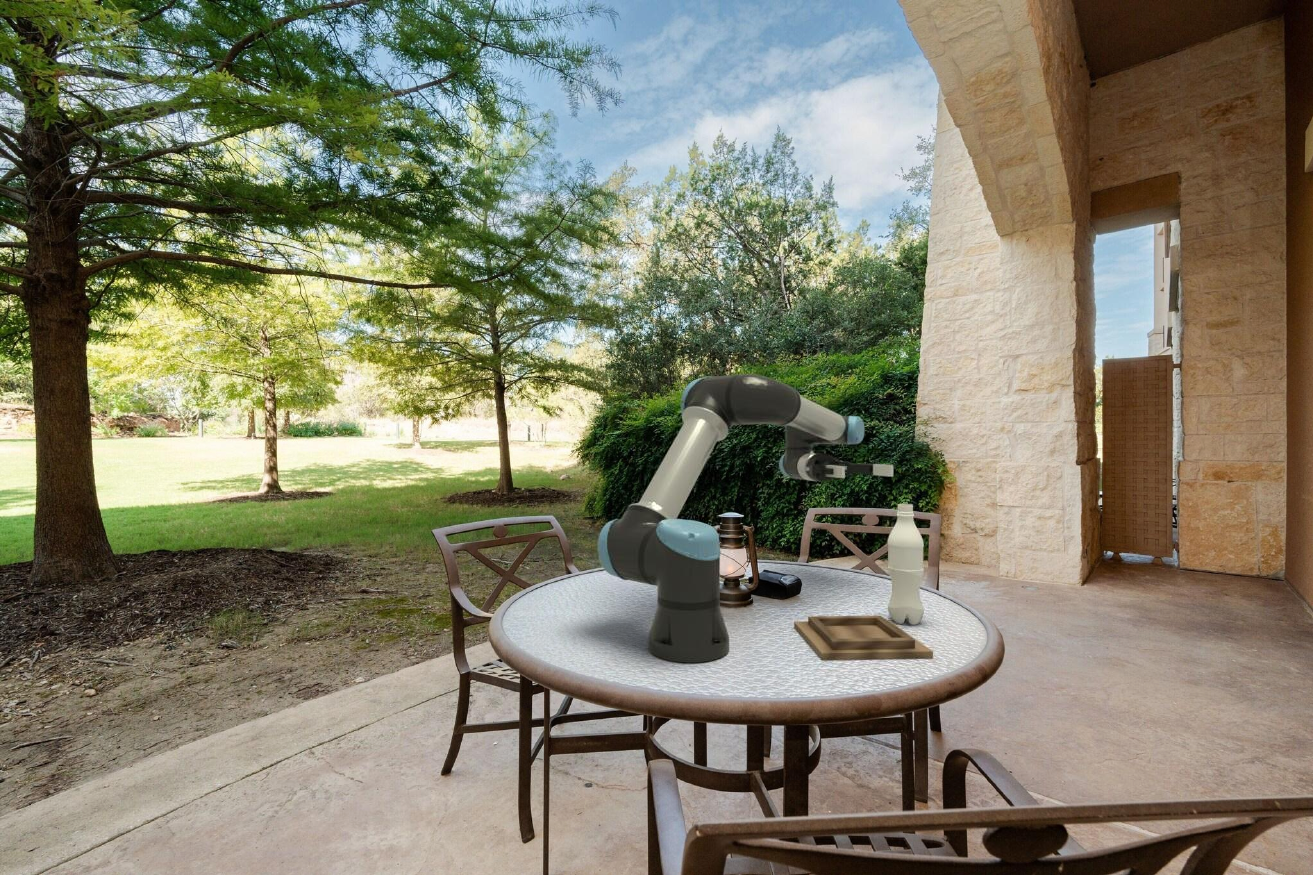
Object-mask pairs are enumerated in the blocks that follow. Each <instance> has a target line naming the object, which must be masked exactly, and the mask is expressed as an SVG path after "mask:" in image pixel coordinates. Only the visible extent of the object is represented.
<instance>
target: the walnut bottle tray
mask: <svg viewBox="0 0 1313 875" xmlns="http://www.w3.org/2000/svg"><path fill="white" fill-rule="evenodd" d="M807 617H808V618H807V621H793V628H794V629H795V631H796V632H797V633H798V634H799V635H800V636H801V637H802V639H803V640H804V641H805V642H806V643H807V644H808V646H809V647H810V648H811V649H812V650H813V651H814V652H815V655H816V656H818V657H819V658H820V659H821V661H834V660H835V661H842V660H843V661H844V660H847V661H848V660H850V661H851V660H901V659H903V660H905V659H907V660H909V659H934V651H933V650H932V649H930V648H929V647H927V646H926V645H924V644H923V643H921V642H920V641H919V640H917V639H916V638H915V637H913V636H911V635H910V634H909V633H908V632H906V631H905V630H903V629H902V628H900V627H898V625H896V624H894V623H893V622H892V621H891V620H887V619H886V618H884V617H883V616H882V615H828V616H827V615H825V616H821V615H820V616H816V615H815V616H811V615H810V616H807Z"/></svg>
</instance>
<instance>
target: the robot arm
mask: <svg viewBox="0 0 1313 875" xmlns="http://www.w3.org/2000/svg"><path fill="white" fill-rule="evenodd" d="M680 401H681V402H682V404H680V410H681V419H682V422H683V425H682V426H681V428H680V430H679V432H678V433H677V435H676V437H675V439H673V442H672V444H671V446H670V447H669V449H668V450H667V453H666V454H665V456H664V457H663V460H662V461H661V463H660V465H659V466H658V468H657V470H656V472H655V473H654V475H653V477H652V478H651V481H650V482H649V484H648V486H647V488H646V489H645V491H644V493H643V495H642V497H641V498H640V500H639V501H638V502H637V503H631V504H629V505H628V507H627V509H626V510H625V511H624V513H623V515H622V516H621V518H619V519H618V518H616V519H613V520H610V521H608V522H606V523H605V525H604V526H603V527H602V529H601V531H600V533H599V536H598V540H597V551H598V559H599V562H600V564H601V566H602V568H603V569H604V571H605V572H606V573H608V574H609V575H611V576H614V577H616V578H619V579H621V580H623V581H632V582H638V583H643V584H646V585H651V586H655V587H657V607H656V611H655V613H654V617H653V619H652V624H651V626H650V630H649V633H648V638H647V641H648V642H647V643H648V646H647V647H648V651H649V652H650V653H651V654H652V655H654V656H655V657H658V658H660V659H663V660H665V661H672V662H676V663H677V662H678V663H702V662H710V661H715V660H717V659H720V658H723V657H725V655H727V654H729V651H730V635H729V632H728V630H727V626H726V623H725V620H724V617H723V613H722V610H721V604H720V603H721V602H720V600H721V599H720V593H721V592H720V591H721V590H720V586H721V584H720V582H721V581H720V579H721V577H720V576H721V573H720V572H721V571H720V570H721V567H720V566H721V553H722V552H721V547H720V536H719V533H718V531H717V530H716V529H715V527H713V526H711V525H710V524H707V523H704V522H701V521H697V520H693V519H682V518H681V519H680V518H678V516H679V515H680V512H681V510H682V509H683V507H684V505H685V503H686V501H687V499H688V497H689V496H690V494H691V491H692V490H693V488H694V486H695V485H696V482H697V480H698V478H699V476H700V474H701V472H702V471H703V468H704V466H705V464H706V462H707V461H708V459H709V458H710V455H711V453H712V451H713V449H714V447H715V445H716V443H717V442H719V441H723V440H725V439H726V438H727V437H728V435H729V433H730V431H731V429H732V427H733V426H742V425H743V426H744V425H745V426H746V425H762V424H766V425H767V424H769V425H774V426H778V427H779V426H780V427H784V429H785V430H784V431H785V453H784V454H783V455H782V456H781V458H780V459H779V462H778V467H779V470H780V472H781V473H782V475H784V476H785V477H788V478H791V479H794V480H797V479H798V480H807V481H812V482H820V483H821V482H822V483H828V482H830V481H832V480H833V479H834V478H837V479H845V478H846V477H845V476H850V475H852V474H853V475H854V474H857V475H873V476H881V477H894V465H893V464H882V463H879V461H874V463H854V462H852V463H851V462H850V461H841V460H836V459H835V458H834V456H832V455H831V454H828V453H815V452H814V450H813V445H849V446H850V445H857V444H858V445H859V444H860V443H861V442H862V441H863V439H864V438H865V424H864V420H863V419H862V418H861V417H860V416H855V415H853V416H852V415H849V416H848V415H847V416H844V415H842V414H839V413H838V412H837V413H836V412H835V411H833V410H831V409H828V408H827V407H824V406H822V405H821V404H818V403H816V402H814V401H812V400H810V399H807V398H805V397H803V396H801V394H800V393H799V391H798V390H797V389H796V388H794V387H793V386H790V385H789V384H787V383H785V382H782V381H780V380H776V379H775V378H770V377H768V376H766V375H761V374H756V373H742V374H741V373H740V374H730V375H720V376H719V375H718V376H717V375H716V376H704V377H700V378H697V379H695V380H693V381H691V382H690V383H688V385H686V387H685V389H684V390H683V392H682V395H681V399H680ZM845 471H846V472H845Z"/></svg>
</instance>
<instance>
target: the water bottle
mask: <svg viewBox="0 0 1313 875" xmlns="http://www.w3.org/2000/svg"><path fill="white" fill-rule="evenodd" d="M913 509H914V504H910V503H899V504H897V512H896V516H897V519H896V522H895V524H894V526H893V528H892V529H891V531H890V533H889V535H888V538H887V553H888V554H887V557H888V558H887V564H888V565H887V571H888V573H889V576H890V580H891V594H890V597H889V601H888V603H887V610H888V615H889V616H890V618H891V619H892V620H893V621H894V622H895V623H897V624H900V625H903V624H904V623H905V620H906V619H907V621H908V623H909V624H910V625H912V626H914V625H917V624H919V623H920V622H921V620H922V619H923V617H924V613H925V608H924V605H923V603H922V600H921V595H920V587H921V583H922V581H921V580H922V579H923V576H924V574H925V568H924V547H925V546H924V538H922V537H923V536H922V535H921V533H920V531H919V529H918V527H917V526H916V523H915V520H914V517H915V514H914V510H913Z"/></svg>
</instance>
